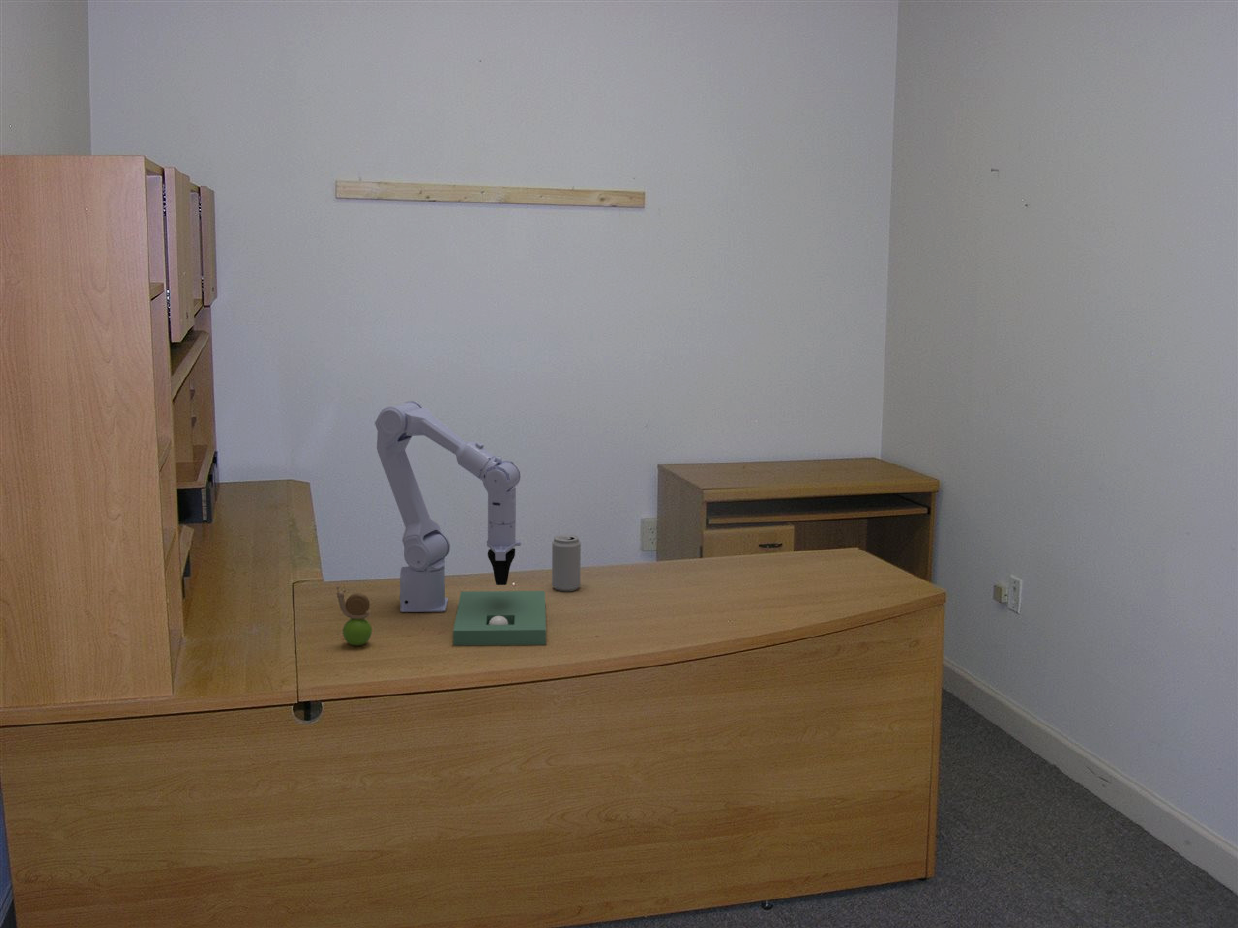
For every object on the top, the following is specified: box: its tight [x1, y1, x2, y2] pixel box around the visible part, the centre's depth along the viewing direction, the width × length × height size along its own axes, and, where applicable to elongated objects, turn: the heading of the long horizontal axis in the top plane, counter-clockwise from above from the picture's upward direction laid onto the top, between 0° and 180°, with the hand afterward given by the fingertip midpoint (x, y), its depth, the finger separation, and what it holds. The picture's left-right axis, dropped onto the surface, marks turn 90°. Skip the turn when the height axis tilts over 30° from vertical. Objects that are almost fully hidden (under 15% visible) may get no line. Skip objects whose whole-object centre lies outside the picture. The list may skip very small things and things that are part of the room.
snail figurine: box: [335, 585, 373, 646], centre depth 212 cm, size 5×6×12 cm
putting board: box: [452, 590, 547, 646], centre depth 226 cm, size 18×24×3 cm
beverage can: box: [551, 534, 582, 592], centre depth 248 cm, size 6×6×12 cm
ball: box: [489, 616, 509, 625], centre depth 219 cm, size 4×4×4 cm
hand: (501, 583), depth 228 cm, fingers closed
